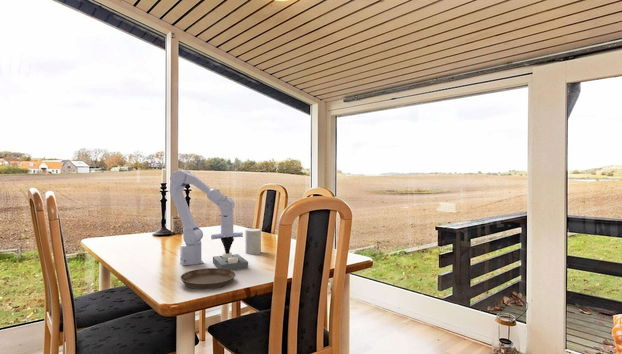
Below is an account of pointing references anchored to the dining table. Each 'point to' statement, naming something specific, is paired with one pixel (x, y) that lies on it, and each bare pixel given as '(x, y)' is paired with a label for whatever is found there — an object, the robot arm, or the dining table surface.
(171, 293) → the dining table surface
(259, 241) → the cup
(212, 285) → the plant saucer
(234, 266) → the slate mount
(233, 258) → the near knob
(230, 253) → the far knob
